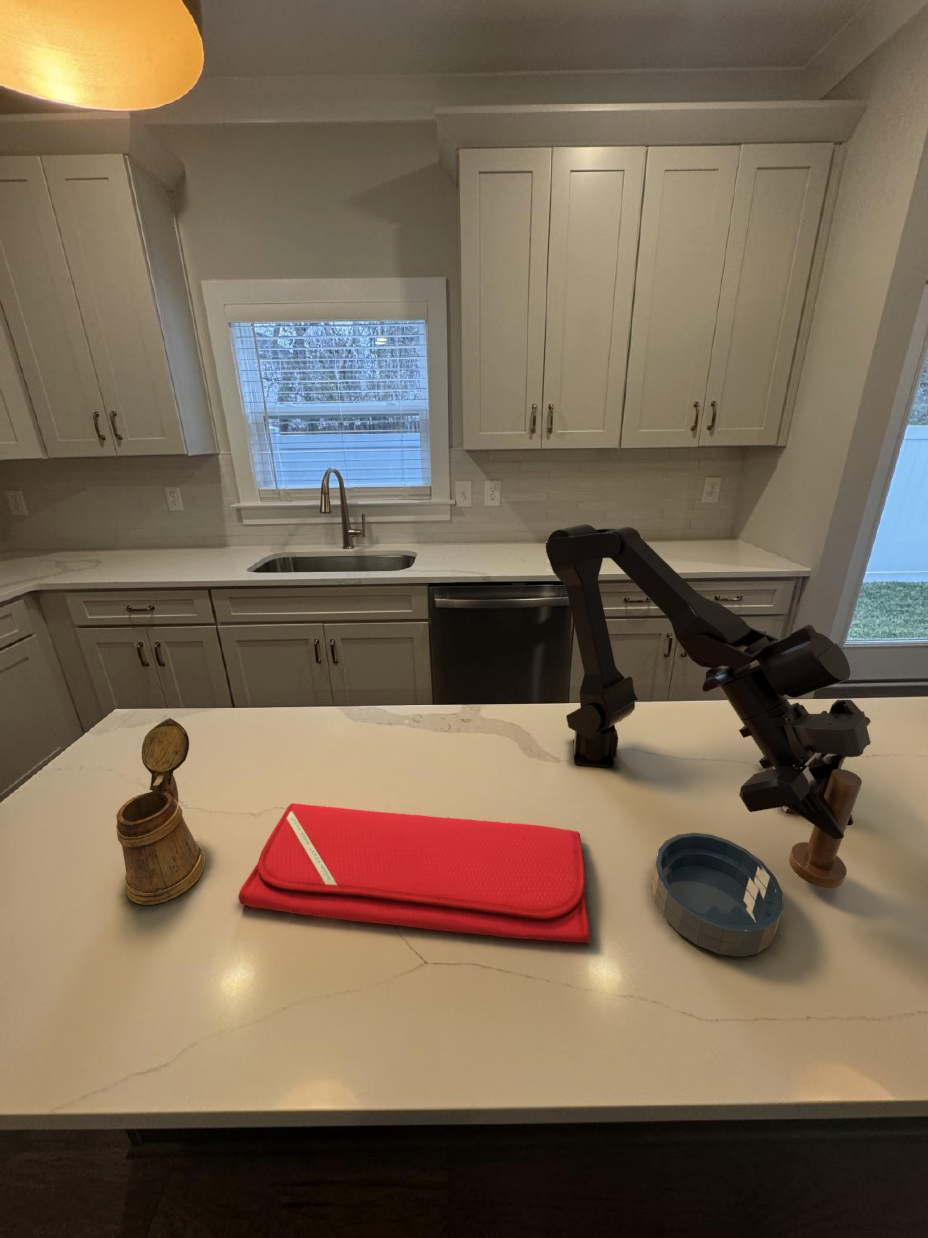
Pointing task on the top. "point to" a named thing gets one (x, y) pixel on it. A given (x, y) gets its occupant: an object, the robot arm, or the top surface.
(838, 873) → the stirring pestle
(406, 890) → the red folding pouch
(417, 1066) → the top surface
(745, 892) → the bowl
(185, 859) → the wooden mug
